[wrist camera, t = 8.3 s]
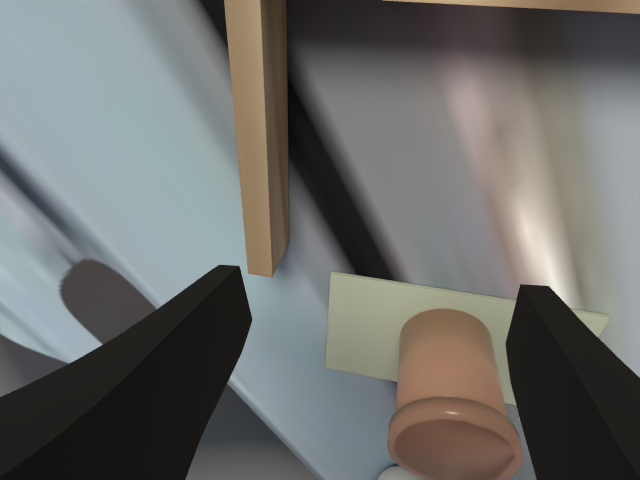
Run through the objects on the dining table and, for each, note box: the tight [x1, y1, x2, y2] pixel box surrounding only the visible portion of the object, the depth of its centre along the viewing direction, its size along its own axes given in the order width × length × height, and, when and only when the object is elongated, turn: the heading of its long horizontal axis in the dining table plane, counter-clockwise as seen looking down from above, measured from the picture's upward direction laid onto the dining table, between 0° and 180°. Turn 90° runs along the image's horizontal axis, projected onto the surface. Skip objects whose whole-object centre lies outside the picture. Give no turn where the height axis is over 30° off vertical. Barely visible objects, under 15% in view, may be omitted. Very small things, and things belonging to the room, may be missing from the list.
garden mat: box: [325, 271, 610, 405], centre depth 23 cm, size 14×8×1 cm, turn 88°
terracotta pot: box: [387, 309, 523, 480], centre depth 20 cm, size 6×6×6 cm
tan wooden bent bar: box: [224, 0, 640, 277], centre depth 15 cm, size 21×13×3 cm, turn 88°
